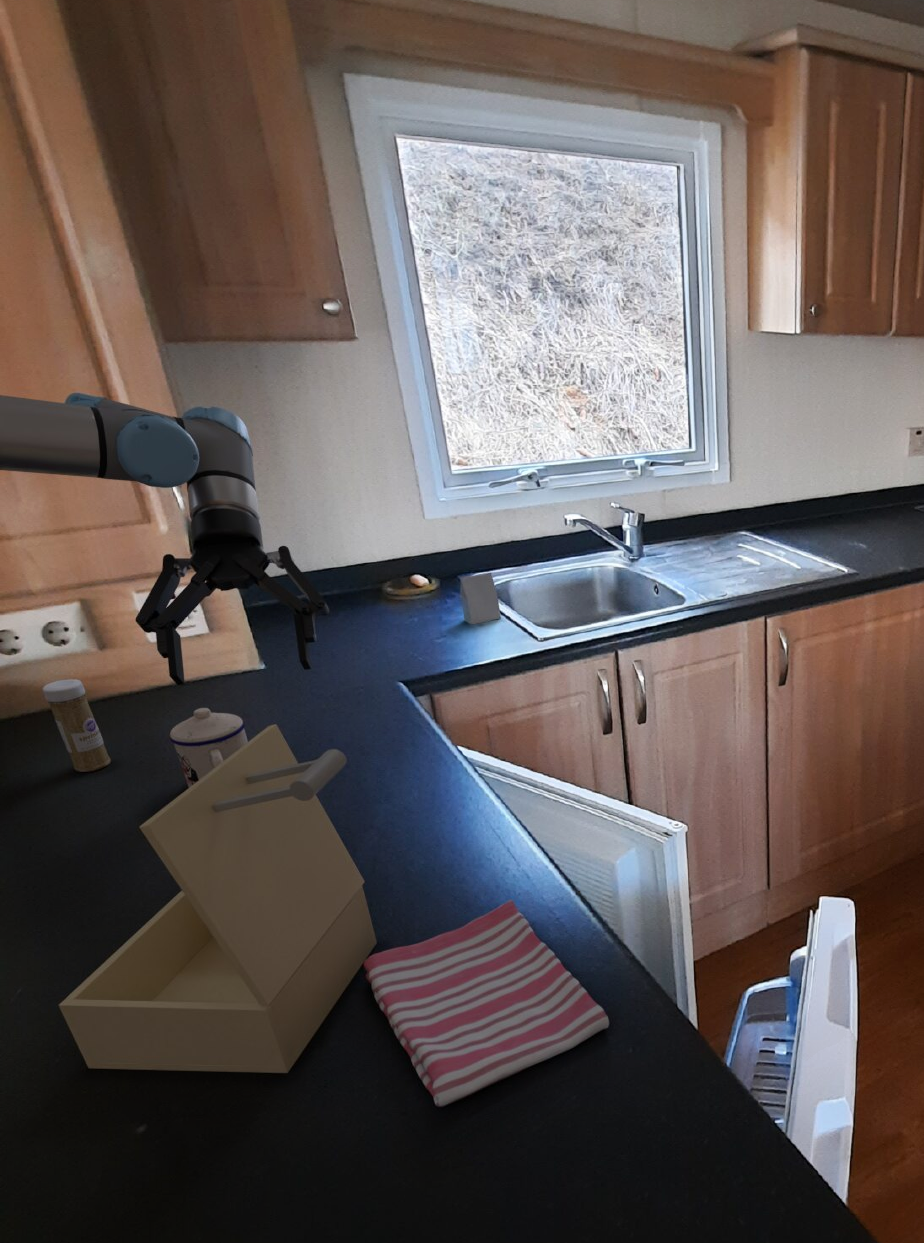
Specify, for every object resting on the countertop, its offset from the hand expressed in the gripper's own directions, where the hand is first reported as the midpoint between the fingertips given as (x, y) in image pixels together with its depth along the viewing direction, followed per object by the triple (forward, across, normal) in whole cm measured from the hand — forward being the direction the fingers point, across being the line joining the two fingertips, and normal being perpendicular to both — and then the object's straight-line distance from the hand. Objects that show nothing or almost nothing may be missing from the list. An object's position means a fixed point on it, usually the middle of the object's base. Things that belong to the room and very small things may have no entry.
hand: (242, 672), depth 108 cm
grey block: (-41, -32, -74) cm, 91 cm away
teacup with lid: (+4, +10, -29) cm, 31 cm away
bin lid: (+29, -4, +21) cm, 36 cm away
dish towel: (+47, -21, +14) cm, 53 cm away
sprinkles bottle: (-6, +29, -39) cm, 49 cm away
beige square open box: (+40, +2, +7) cm, 40 cm away
